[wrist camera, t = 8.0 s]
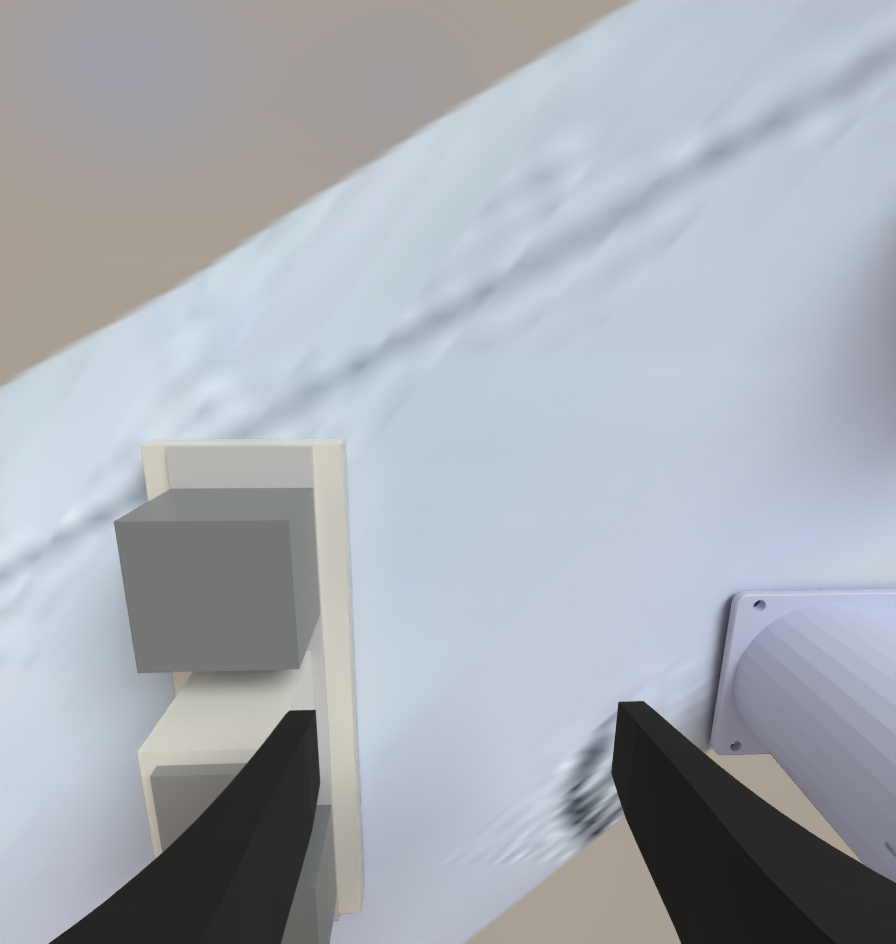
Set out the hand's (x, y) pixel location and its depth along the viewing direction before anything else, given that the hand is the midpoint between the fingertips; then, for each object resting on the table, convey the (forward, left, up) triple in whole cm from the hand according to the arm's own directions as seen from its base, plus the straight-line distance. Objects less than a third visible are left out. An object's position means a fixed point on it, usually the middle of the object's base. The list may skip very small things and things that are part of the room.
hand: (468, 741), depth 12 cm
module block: (+8, +6, -8) cm, 12 cm away
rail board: (+8, +6, -9) cm, 13 cm away
